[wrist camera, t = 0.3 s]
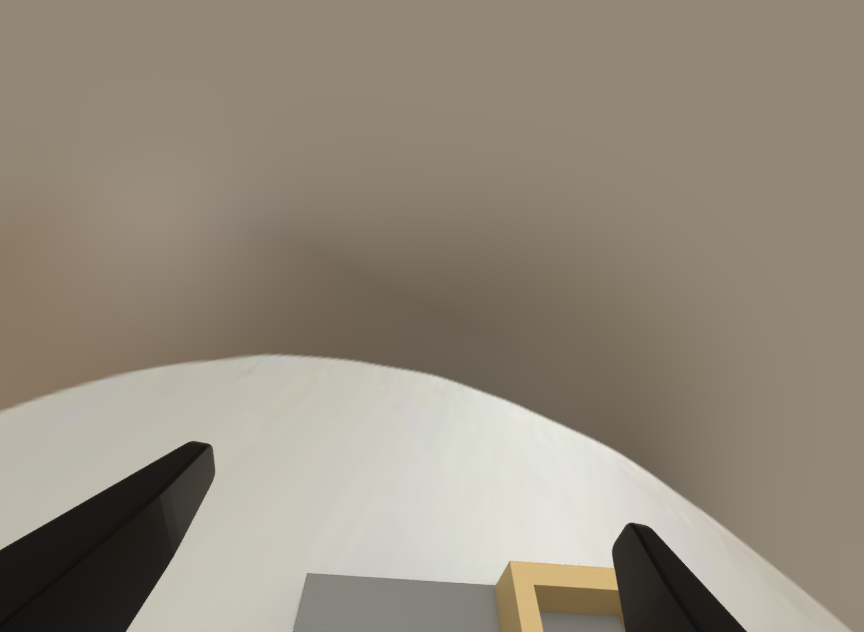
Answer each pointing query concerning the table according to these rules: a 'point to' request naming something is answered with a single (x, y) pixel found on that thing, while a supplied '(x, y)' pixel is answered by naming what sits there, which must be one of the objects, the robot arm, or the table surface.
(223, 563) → the table surface
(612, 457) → the table surface
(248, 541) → the table surface
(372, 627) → the bracket board
